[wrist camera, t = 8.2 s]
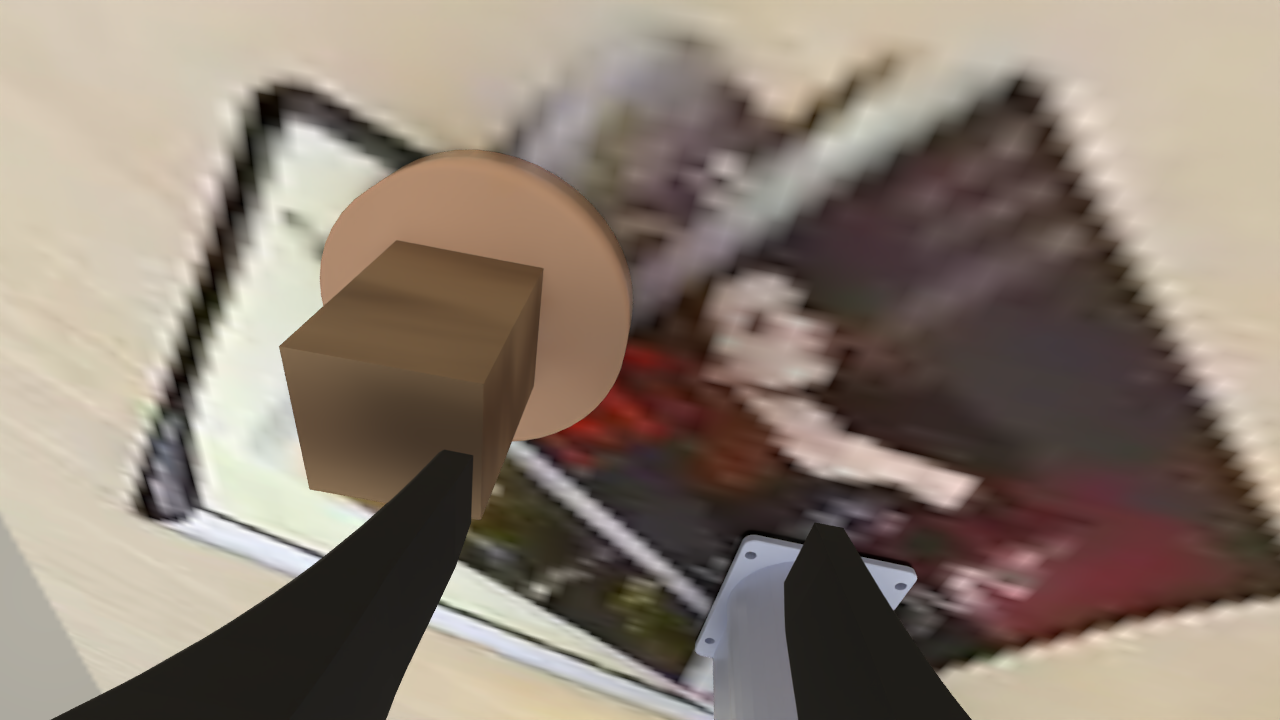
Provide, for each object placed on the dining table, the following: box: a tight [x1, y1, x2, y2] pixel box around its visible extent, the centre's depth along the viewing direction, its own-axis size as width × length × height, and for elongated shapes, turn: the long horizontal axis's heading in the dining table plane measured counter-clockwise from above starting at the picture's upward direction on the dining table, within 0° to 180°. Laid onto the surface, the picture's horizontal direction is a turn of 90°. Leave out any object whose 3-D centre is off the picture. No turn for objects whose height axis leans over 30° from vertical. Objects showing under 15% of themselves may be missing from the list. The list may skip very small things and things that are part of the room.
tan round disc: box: [320, 150, 633, 441], centre depth 20 cm, size 10×10×2 cm
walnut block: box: [279, 240, 544, 520], centre depth 17 cm, size 4×4×6 cm
